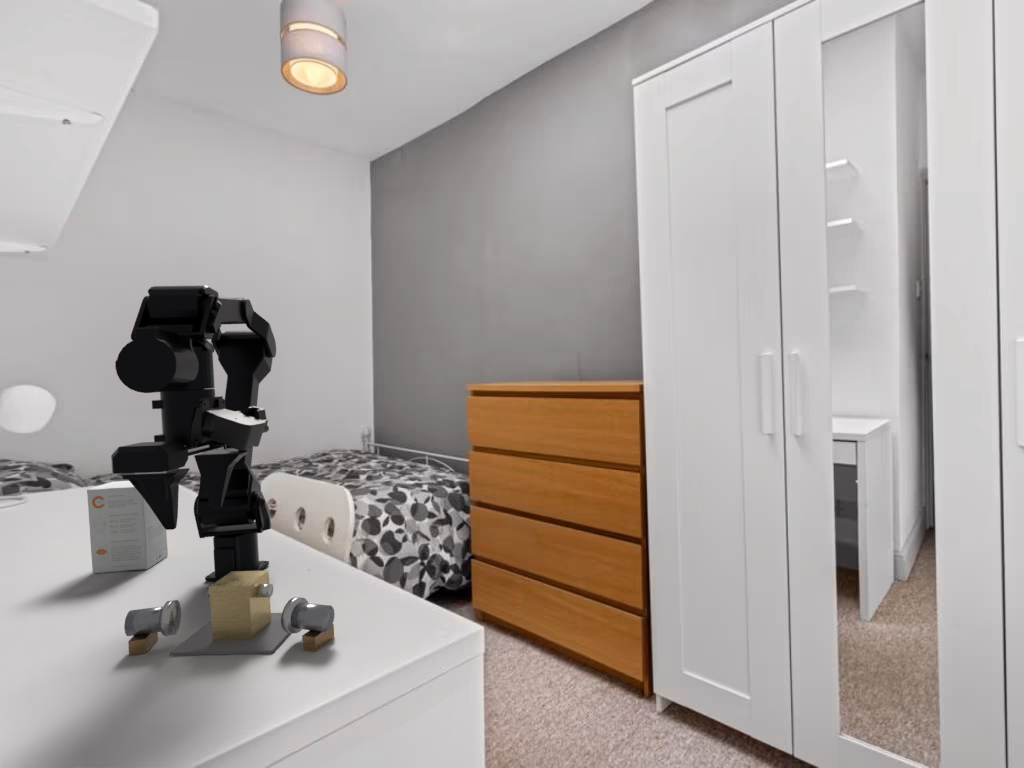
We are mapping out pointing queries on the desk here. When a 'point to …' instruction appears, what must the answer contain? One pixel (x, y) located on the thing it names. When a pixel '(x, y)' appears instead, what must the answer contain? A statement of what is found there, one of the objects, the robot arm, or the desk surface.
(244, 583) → the coupler
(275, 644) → the mat
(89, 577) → the desk surface
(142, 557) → the small box
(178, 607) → the shaft
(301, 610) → the shaft
